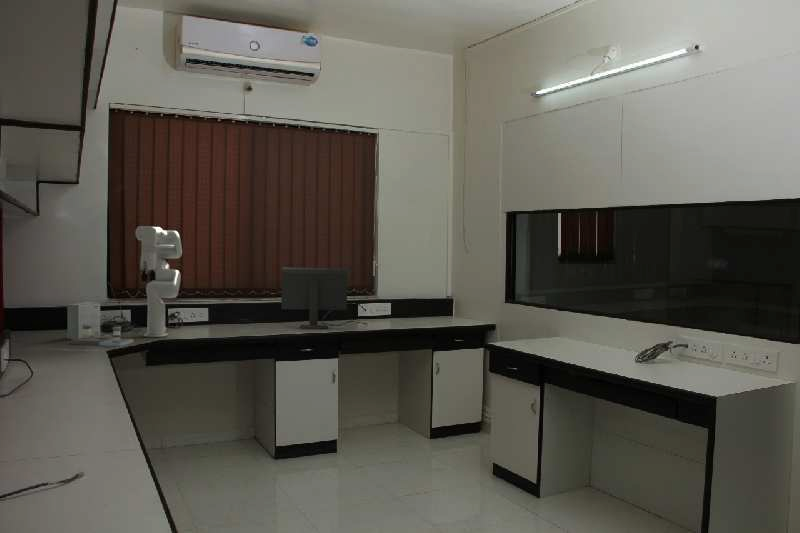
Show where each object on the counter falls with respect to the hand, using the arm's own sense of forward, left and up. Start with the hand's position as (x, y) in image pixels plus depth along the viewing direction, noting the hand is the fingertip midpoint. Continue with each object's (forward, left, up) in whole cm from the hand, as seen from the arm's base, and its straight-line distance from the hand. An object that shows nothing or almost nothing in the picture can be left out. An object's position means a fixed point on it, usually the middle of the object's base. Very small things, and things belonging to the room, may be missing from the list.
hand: (148, 280), depth 338 cm
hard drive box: (-1, -36, -34) cm, 49 cm away
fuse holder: (+14, -22, -33) cm, 43 cm away
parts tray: (+17, -9, -33) cm, 38 cm away
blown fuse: (+17, -9, -33) cm, 38 cm away
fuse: (+14, -26, -32) cm, 44 cm away
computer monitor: (-81, +77, -34) cm, 117 cm away
